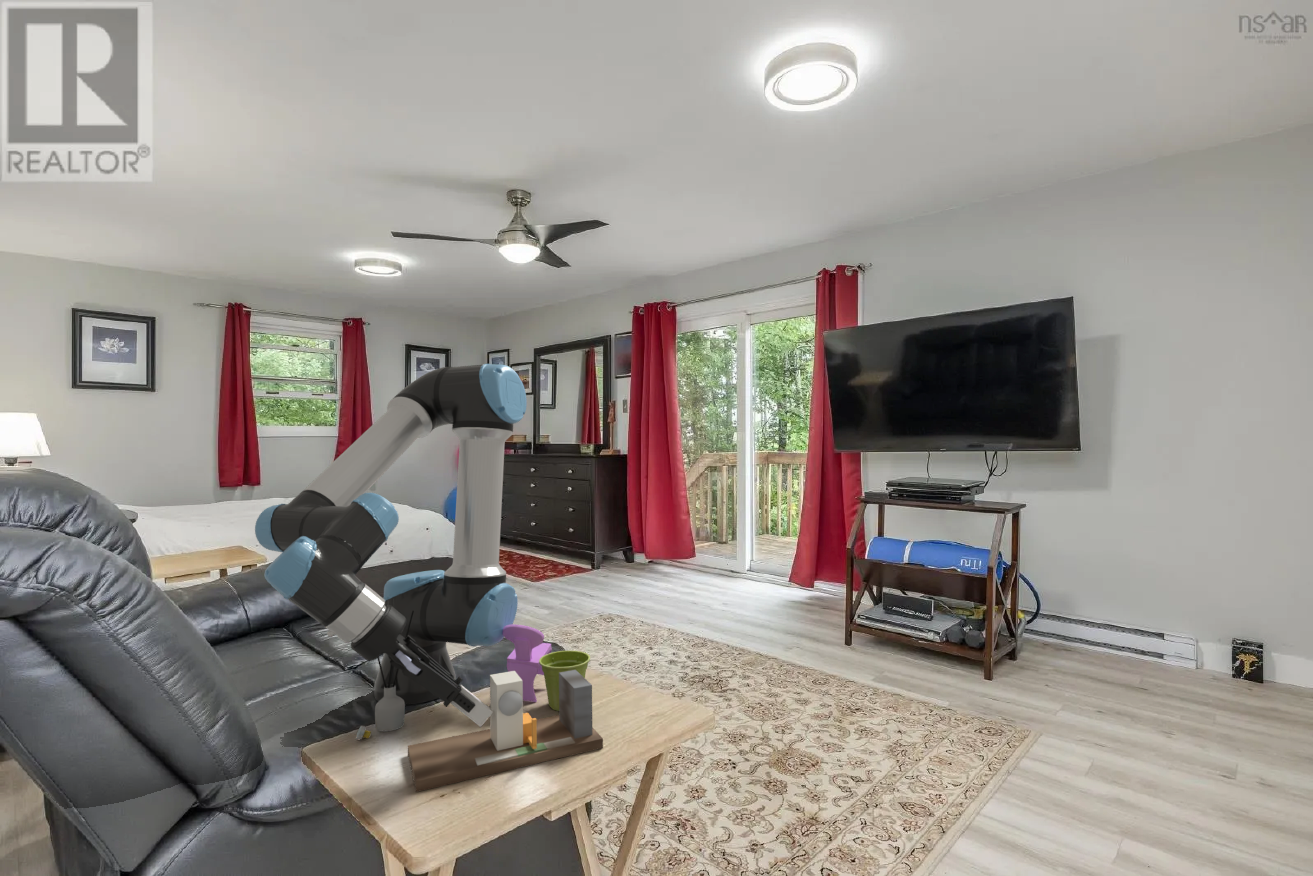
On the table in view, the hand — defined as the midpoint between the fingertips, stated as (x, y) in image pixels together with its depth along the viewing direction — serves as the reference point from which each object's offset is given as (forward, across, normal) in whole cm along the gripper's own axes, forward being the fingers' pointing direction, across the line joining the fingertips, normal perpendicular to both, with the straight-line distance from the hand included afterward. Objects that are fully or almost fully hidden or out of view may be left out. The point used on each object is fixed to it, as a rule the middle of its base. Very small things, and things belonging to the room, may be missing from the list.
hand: (485, 717), depth 99 cm
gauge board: (+7, 0, -2) cm, 7 cm away
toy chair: (+13, -22, +6) cm, 26 cm away
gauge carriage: (+5, 0, -1) cm, 5 cm away
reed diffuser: (-5, -16, -14) cm, 22 cm away
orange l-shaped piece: (+8, +2, +1) cm, 8 cm away
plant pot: (+17, -13, +8) cm, 23 cm away
